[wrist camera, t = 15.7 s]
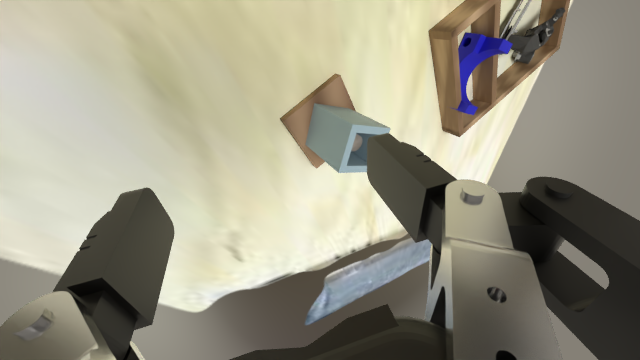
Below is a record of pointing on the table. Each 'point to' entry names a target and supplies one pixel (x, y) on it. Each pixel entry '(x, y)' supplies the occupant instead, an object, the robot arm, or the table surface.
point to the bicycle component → (529, 35)
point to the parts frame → (486, 86)
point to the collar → (341, 136)
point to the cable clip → (476, 61)
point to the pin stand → (301, 113)
